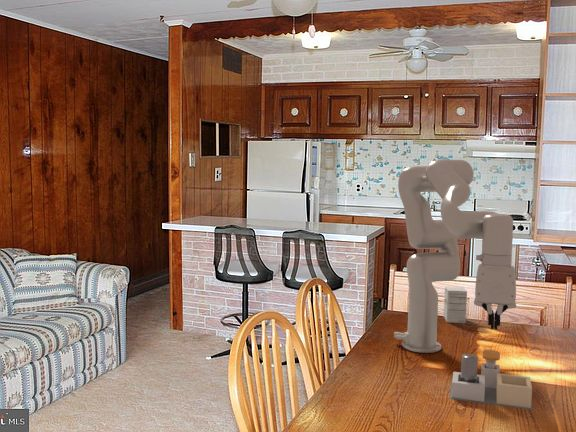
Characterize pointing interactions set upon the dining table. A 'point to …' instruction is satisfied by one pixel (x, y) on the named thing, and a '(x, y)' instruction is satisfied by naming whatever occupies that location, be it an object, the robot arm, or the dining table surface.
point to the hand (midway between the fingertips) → (493, 328)
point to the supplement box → (455, 304)
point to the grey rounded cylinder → (469, 368)
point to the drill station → (494, 389)
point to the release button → (491, 358)
